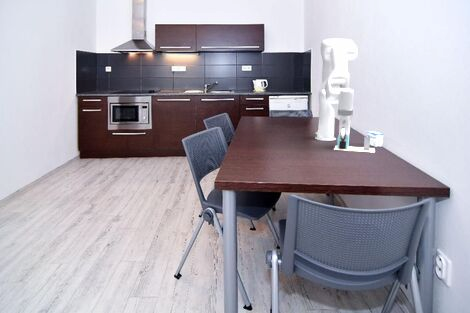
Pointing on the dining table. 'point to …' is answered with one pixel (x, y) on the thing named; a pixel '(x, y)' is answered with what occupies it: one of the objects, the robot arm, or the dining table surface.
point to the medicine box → (375, 138)
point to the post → (366, 142)
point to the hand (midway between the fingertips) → (342, 147)
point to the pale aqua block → (346, 141)
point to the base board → (357, 149)
